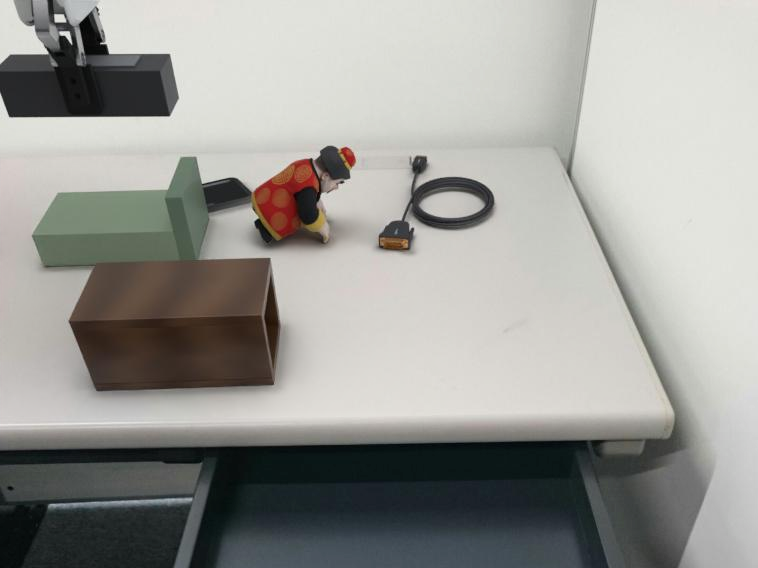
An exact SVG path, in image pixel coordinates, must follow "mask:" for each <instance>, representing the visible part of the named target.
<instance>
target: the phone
mask: <svg viewBox="0 0 758 568" xmlns="http://www.w3.org/2000/svg"><path fill="white" fill-rule="evenodd" d="M202 186H203V191H204V196H205V200H206V205H207V210H208V214H211V213H214V212H219V211H223V210H226V209H230V208H231V209H232V208H235V207H239V206H243V205H247V204H252V202H251V193H252V192H253V191H251V190H250V189H249V188H248V186H246V185H245V184H244V183H243V182H242V181H241V180H240V179H239V178H237V177H234V176H233V177H226V178H221V179H216V180H213V181H212V180H211V181H207V182H204V183H203V182H202Z"/></svg>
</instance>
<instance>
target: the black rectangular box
mask: <svg viewBox="0 0 758 568" xmlns="http://www.w3.org/2000/svg"><path fill="white" fill-rule="evenodd" d="M171 56H172V55H171V54H170V53H109V54H85V58H86V64H91V65H92V69H93V72H94V76H95V80H96V83H97V87H98V90H99V94H100V98H101V101H102V105H103V109H104V111H103V112H102V114H101V115H71V114H69V113H68V111H67V108H66V105H65V102H64V98H63V95H62V92H61V89H60V86H59V82H58V79H57V76H56V73H55V70H54V67H53V66H52V64H51V62H50V58H49V54H48V53H37V54H36V53H35V54H34V53H33V54H32V53H31V54H29V53H28V54H27V53H25V54H24V53H23V54H22V53H19V54H17V53H16V54H15V53H13V54H8V56H7V57H5V59H4V60H3V61H1V62H0V96H1V99H2V102H3V105H4V107H5V110H6V112H7V115H8V118H148V117H150V118H151V117H152V118H155V117H157V118H158V117H163V118H164V117H165V118H167V117H171V115H172V114H173V111H174V109H175V107H176V105H177V104H178V101H179V99H180V96H179V91H178V85H177V81H176V76H175V71H174V66H173V62H172V57H171Z"/></svg>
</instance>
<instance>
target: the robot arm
mask: <svg viewBox="0 0 758 568" xmlns="http://www.w3.org/2000/svg"><path fill="white" fill-rule="evenodd" d="M100 2H101V0H13V4H14V7H15V11H16V13H17V16H18V18H19V20H20V21H21V23H23V24H24V25H25V26H26V27H33V26H34V32H35V36H36V38H37V39H38V40H39V41H40V42H41V43H42V44H43V48H44V49H45V50H46V51H47V54H49V58H50V62H51V64H52V66H53V67H54V70H55V73H56V76H57V79H58V82H59V86H60V89H61V92H62V95H63V98H64V102H65V105H66V108H67V111H68V113H69V114H71V115H101V114H102V112H103V111H104V109H103V105H102V101H101V98H100V94H99V90H98V87H97V83H96V80H95V76H94V72H93V69H92V65H91V64H86V58H85V54H110V50H109V48H108V47H109V46H108V44H107V43H106V42H107V41H106V38H107V37H106V34H105V29H104V27H103V24H102V21H101V18H100V15H101V14H100V12H99V11H100V9H99V7H98V4H99V3H100ZM55 15H63V17H64V19H65V21H64V22H63V21H62V22H61V21H60V22H59V21H56V19H55ZM60 32H63V33H69V36H70V40H69V39H68V37H67V36H66V35H61V34H60ZM70 41H71V42H70Z"/></svg>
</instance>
